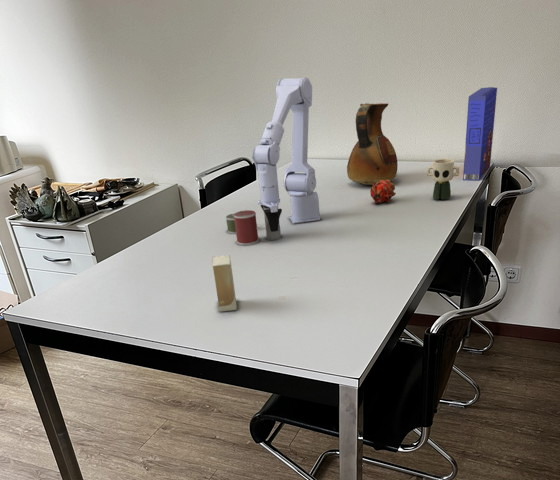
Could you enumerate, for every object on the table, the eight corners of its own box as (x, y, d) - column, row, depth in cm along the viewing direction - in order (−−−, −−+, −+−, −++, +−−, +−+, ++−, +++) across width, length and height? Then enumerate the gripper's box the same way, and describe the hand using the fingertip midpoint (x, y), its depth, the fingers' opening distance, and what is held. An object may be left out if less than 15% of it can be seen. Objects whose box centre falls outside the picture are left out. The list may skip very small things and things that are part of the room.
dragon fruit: (391, 201, 219) (378, 215, 212) (373, 187, 219) (360, 201, 212) (403, 184, 212) (391, 198, 205) (384, 169, 213) (371, 183, 205)
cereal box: (475, 166, 246) (481, 87, 231) (490, 167, 243) (497, 86, 228) (463, 180, 230) (468, 95, 215) (478, 180, 227) (485, 95, 212)
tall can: (257, 236, 193) (254, 209, 189) (260, 243, 187) (257, 215, 183) (236, 239, 192) (232, 212, 188) (238, 246, 186) (234, 218, 182)
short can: (245, 226, 204) (244, 211, 201) (248, 231, 198) (246, 217, 196) (226, 229, 203) (224, 214, 201) (228, 234, 198) (226, 219, 195)
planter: (279, 239, 188) (276, 207, 183) (265, 240, 189) (261, 208, 184) (282, 235, 192) (279, 203, 187) (268, 235, 193) (265, 204, 188)
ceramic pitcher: (405, 178, 240) (406, 97, 225) (384, 191, 226) (385, 106, 211) (361, 176, 250) (359, 98, 235) (339, 188, 236) (336, 107, 220)
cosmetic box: (219, 302, 151) (212, 256, 144) (236, 300, 151) (230, 254, 144) (219, 312, 145) (212, 265, 139) (237, 310, 145) (230, 263, 139)
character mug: (424, 201, 210) (425, 163, 204) (428, 195, 216) (429, 158, 209) (455, 201, 206) (457, 163, 199) (459, 196, 212) (461, 158, 205)
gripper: (253, 182, 188) (257, 224, 195) (259, 192, 176) (264, 237, 183) (274, 179, 189) (278, 221, 196) (282, 189, 176) (286, 234, 183)
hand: (273, 228), depth 189 cm, fingers closed on planter, 4 cm apart
